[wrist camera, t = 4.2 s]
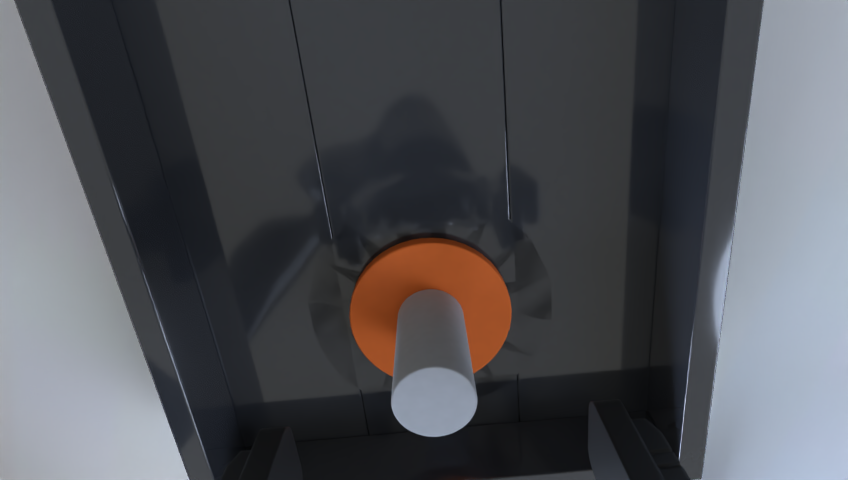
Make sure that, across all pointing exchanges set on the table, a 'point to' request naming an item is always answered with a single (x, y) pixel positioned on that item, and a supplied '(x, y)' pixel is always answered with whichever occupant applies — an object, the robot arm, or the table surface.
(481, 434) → the dark grey tray
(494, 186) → the sink
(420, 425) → the plug
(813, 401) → the table surface
